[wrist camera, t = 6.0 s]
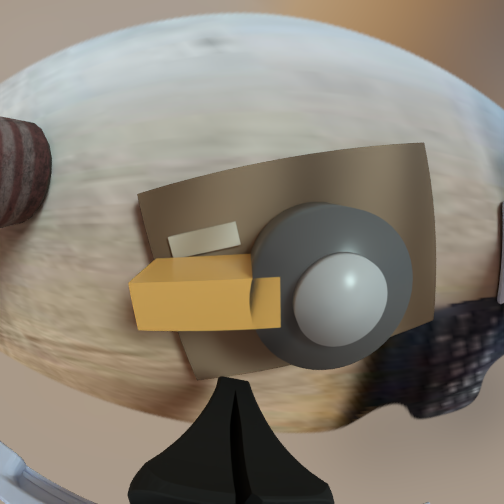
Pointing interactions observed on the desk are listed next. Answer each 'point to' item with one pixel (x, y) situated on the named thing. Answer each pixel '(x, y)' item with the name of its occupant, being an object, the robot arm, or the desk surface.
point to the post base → (276, 201)
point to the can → (22, 170)
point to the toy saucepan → (290, 287)
